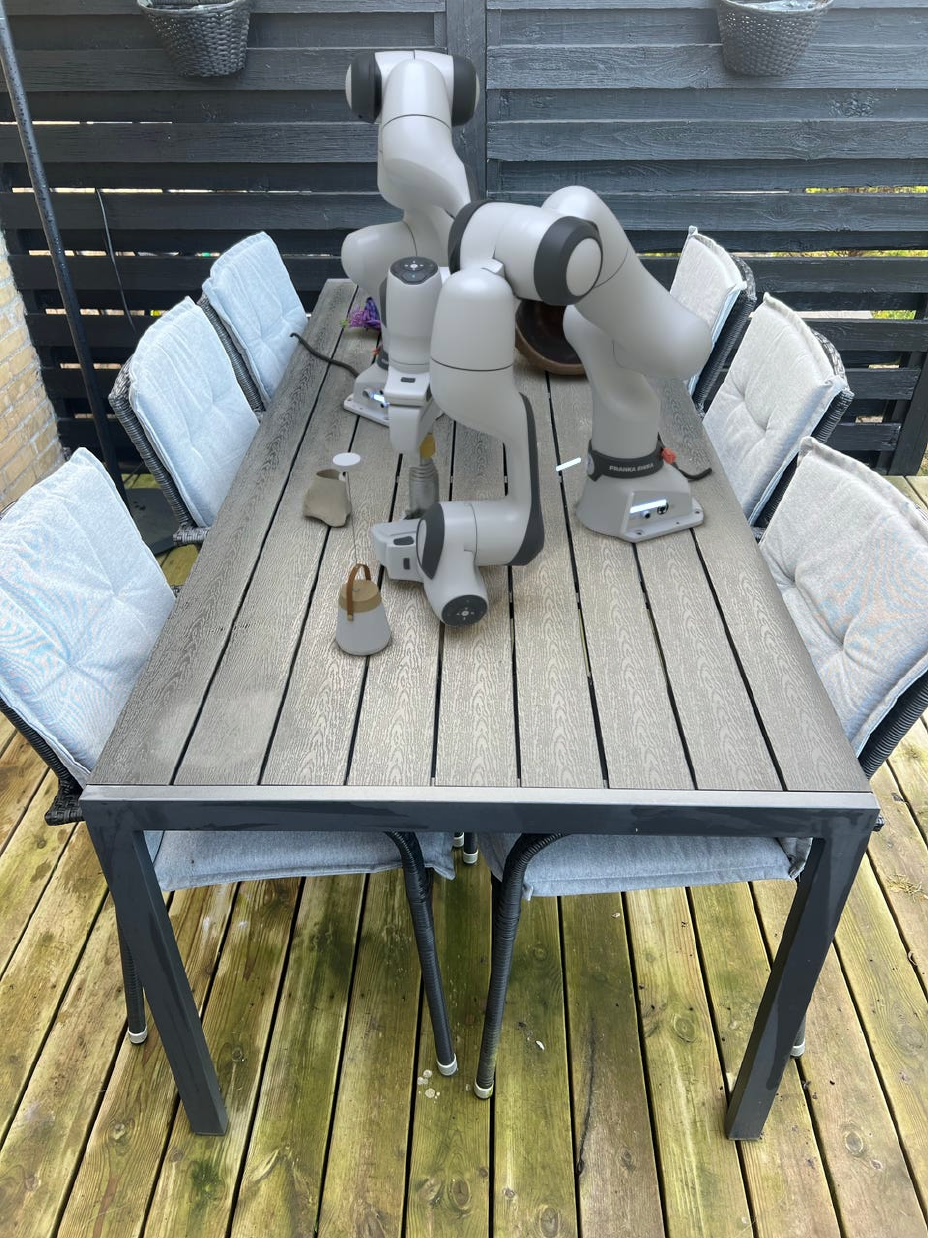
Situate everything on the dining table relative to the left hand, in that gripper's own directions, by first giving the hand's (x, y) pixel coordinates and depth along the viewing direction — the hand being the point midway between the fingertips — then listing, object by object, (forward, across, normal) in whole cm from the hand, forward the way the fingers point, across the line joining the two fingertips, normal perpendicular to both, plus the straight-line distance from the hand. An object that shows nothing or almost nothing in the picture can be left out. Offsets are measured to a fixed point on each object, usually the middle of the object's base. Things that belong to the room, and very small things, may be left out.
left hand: (421, 453), depth 150 cm
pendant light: (+17, +28, -2) cm, 33 cm away
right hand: (+11, -1, 0) cm, 11 cm away
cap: (-2, 0, 0) cm, 2 cm away
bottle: (+17, 0, 0) cm, 17 cm away
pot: (+17, -88, +14) cm, 90 cm away
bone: (+17, -4, -19) cm, 26 cm away
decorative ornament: (+17, -95, -31) cm, 101 cm away
